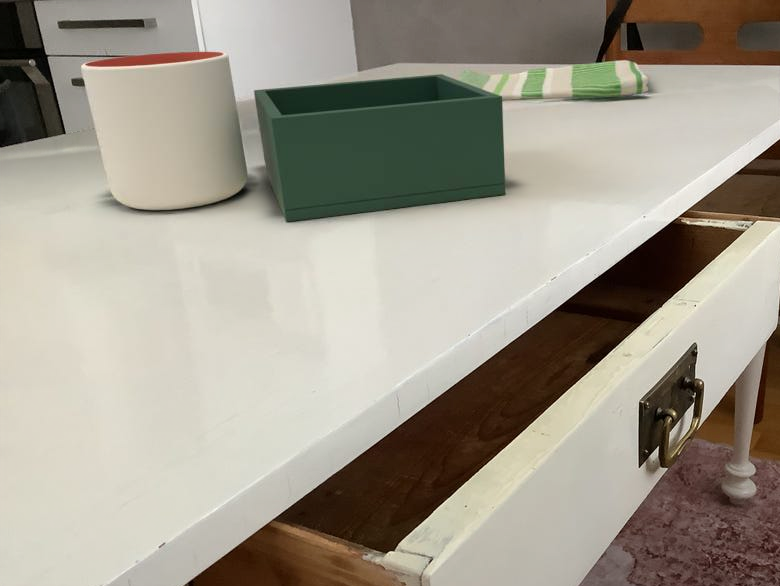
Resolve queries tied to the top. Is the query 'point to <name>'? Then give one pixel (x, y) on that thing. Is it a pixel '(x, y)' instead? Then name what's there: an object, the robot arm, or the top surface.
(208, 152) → the cup
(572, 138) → the top surface
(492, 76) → the dish towel
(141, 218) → the top surface
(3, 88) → the robot arm
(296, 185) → the tub
